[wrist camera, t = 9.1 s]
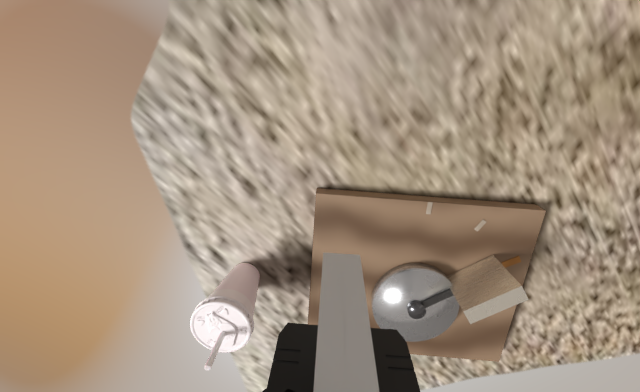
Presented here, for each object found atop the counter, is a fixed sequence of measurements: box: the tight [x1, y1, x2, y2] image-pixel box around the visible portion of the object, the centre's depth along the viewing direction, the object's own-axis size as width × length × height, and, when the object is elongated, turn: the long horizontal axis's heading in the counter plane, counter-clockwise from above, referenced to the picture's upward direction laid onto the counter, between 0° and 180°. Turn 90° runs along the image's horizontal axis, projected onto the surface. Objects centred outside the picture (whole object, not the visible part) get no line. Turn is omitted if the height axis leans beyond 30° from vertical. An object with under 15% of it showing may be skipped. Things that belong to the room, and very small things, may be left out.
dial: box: [371, 255, 529, 342], centre depth 36 cm, size 16×10×6 cm, turn 122°
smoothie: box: [190, 263, 260, 370], centre depth 35 cm, size 6×6×14 cm
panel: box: [308, 188, 546, 361], centre depth 40 cm, size 21×25×2 cm
